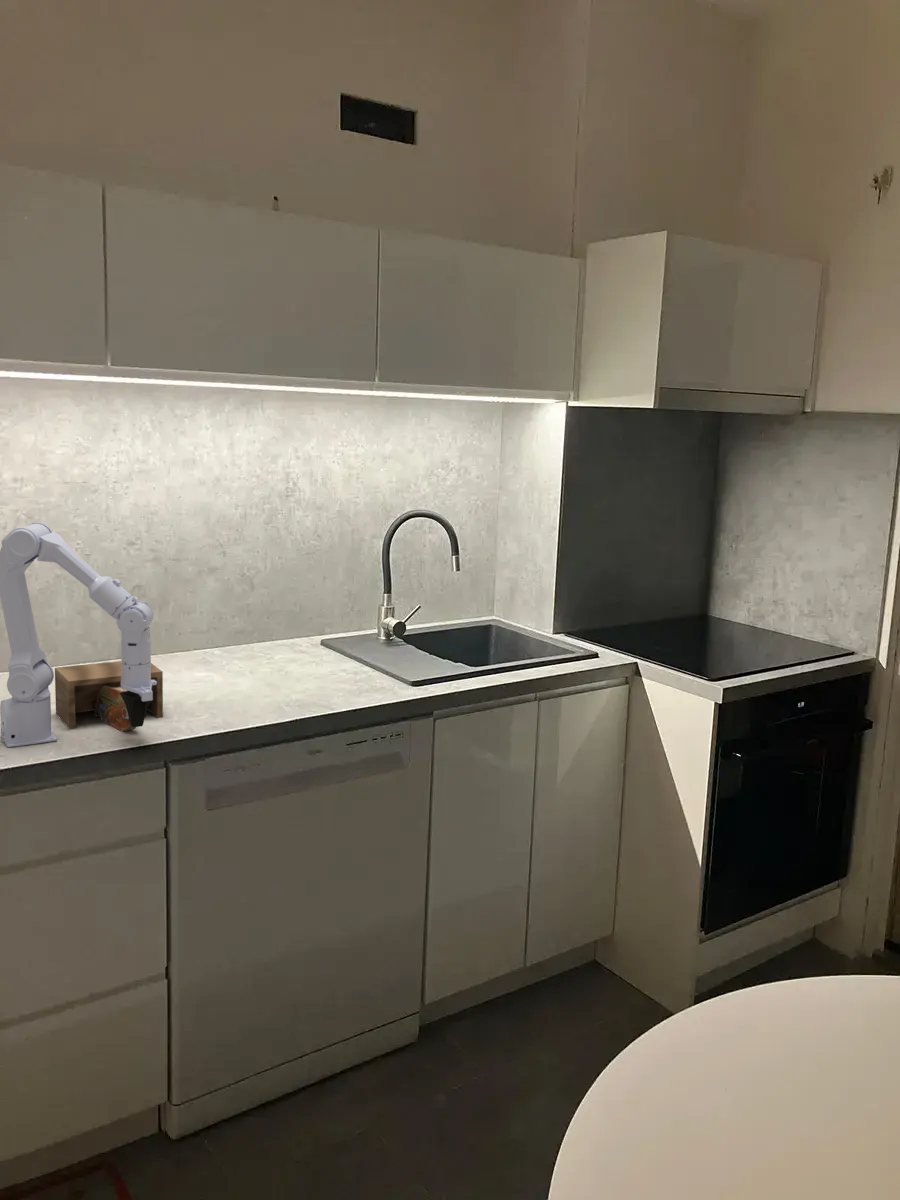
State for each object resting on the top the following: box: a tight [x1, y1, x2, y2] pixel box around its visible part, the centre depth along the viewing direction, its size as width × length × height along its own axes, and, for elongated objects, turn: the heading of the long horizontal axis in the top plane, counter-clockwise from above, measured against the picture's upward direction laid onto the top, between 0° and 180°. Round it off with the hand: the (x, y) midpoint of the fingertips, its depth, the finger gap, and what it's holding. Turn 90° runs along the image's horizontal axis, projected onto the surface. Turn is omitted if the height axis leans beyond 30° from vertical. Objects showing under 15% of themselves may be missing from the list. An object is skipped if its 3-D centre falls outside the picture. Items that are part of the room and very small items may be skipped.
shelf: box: [54, 660, 164, 730], centre depth 223 cm, size 20×12×10 cm, turn 124°
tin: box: [97, 685, 137, 732], centre depth 217 cm, size 15×3×8 cm, turn 45°
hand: (136, 725), depth 208 cm, fingers closed
